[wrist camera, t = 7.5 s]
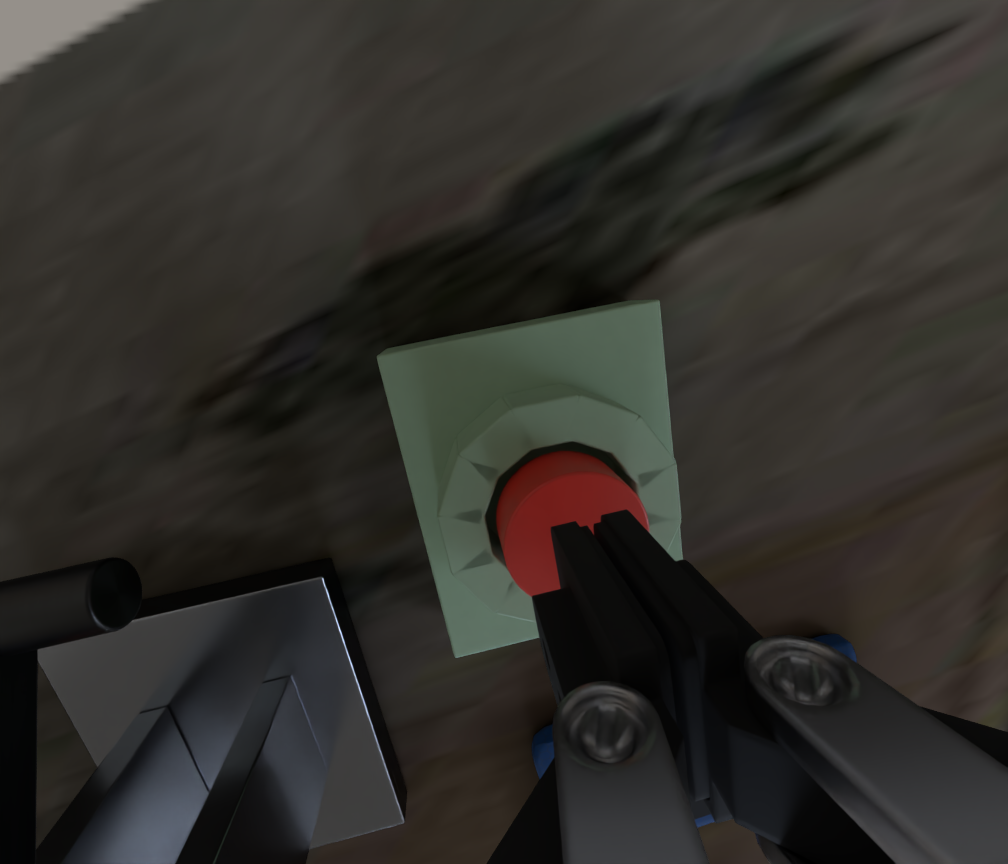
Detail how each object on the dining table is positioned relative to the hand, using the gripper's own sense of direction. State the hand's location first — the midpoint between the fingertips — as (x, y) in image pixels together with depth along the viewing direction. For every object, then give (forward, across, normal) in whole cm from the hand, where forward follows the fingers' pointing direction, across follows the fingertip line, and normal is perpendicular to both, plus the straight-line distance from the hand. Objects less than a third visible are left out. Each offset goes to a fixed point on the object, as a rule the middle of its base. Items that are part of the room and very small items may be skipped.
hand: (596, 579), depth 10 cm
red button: (+3, 0, 0) cm, 3 cm away
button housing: (+7, 0, 0) cm, 7 cm away
